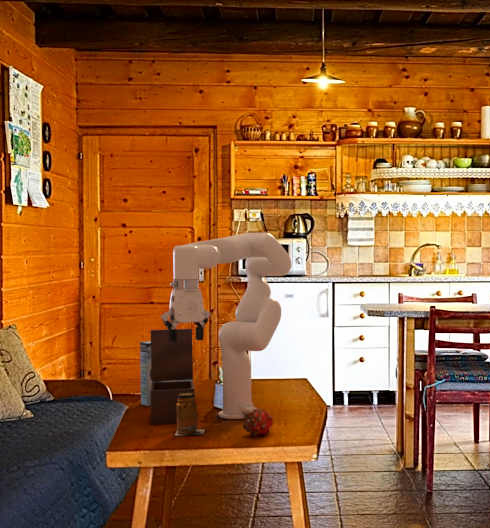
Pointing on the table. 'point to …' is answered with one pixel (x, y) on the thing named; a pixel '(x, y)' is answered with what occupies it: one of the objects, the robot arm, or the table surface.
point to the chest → (167, 400)
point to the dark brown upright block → (171, 356)
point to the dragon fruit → (258, 422)
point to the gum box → (147, 373)
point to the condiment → (187, 415)
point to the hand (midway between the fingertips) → (186, 341)
